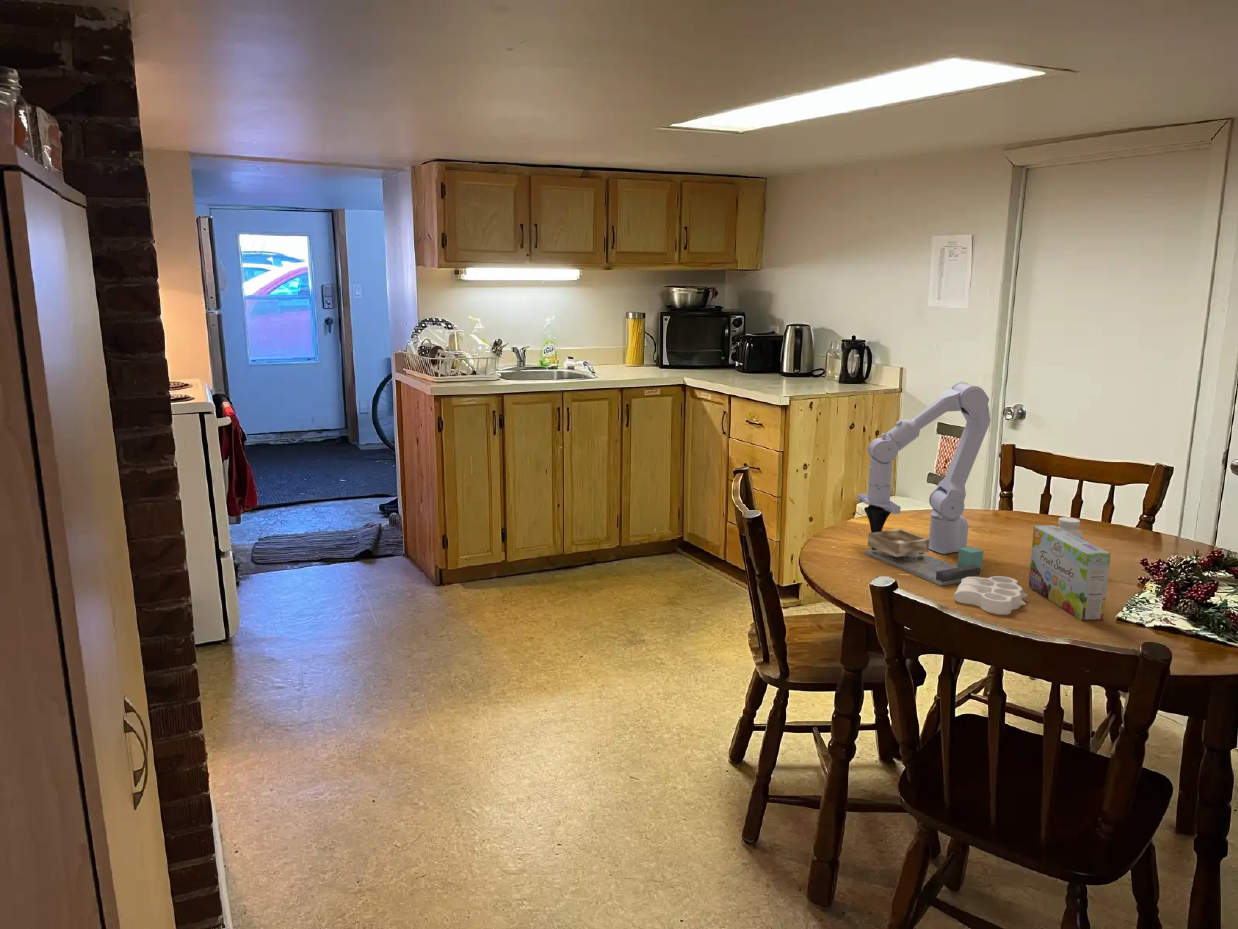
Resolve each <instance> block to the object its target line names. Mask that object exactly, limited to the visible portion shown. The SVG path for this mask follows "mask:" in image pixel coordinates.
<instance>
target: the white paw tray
mask: <svg viewBox="0 0 1238 929" xmlns="http://www.w3.org/2000/svg"><path fill="white" fill-rule="evenodd" d="M1029 596H1030V595H1029V594H1027V593H1026V592H1024V589H1023V588H1022V585H1021V586H1020V585H1019V581H1018V580H1017V579H1014V578H1012V577H1008V576H1001V575H1000V576H999V575H997V576H996V575H994V576H990V577H981V576H980V577H966V578H963V579H961V583H959V584H958V586H957V588H956V591H955V592H954V594H953V600H955V601H956V602H958V603H960V604H967V605H974V606H977V607H979V606H980V609H983V610H982V611H984V610H985V612H986V611H987V613H991V614H993V613H994V615H1002V616H1003V615H1010V614H1011V613H1012V611H1013V609H1014V610H1017V609H1018V610H1019V608H1021V606H1025V605H1027V603H1026V602H1025V601H1024V600H1023V599H1025V598H1027V597H1029Z"/></svg>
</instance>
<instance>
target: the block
mask: <svg viewBox="0 0 1238 929" xmlns="http://www.w3.org/2000/svg"><path fill="white" fill-rule="evenodd" d="M957 554H958V555H957V565H956V566H957V567H965V566H971V565H976V566H979V567H981V571H982V569H983V559H984V558H983V557H984V550H982V549H980V548H976V547H973V546H967V547H964V548H959V552H957Z"/></svg>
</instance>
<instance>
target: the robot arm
mask: <svg viewBox="0 0 1238 929" xmlns="http://www.w3.org/2000/svg"><path fill="white" fill-rule="evenodd" d="M989 402H990V398H989V397H988V395H987V393H986V392H985V390H984V389H983V388H982V387H980V386H976V385H972V384H969V383H967V382H964V381H960V382H957V383H955V384H953V385H952V387H951V388H948V389H945V391H943V393H942V394H940V395H939V396H938V397H937V398H936V399H935V400H933V401H932V402H931V403H930V404H929V405H927V406H926V407H925V408H924V409H922V410H921V411H920V412H919V413H917V415H916V416H914V417H913V418H911V419H907V418H904V419H903V420H900V419H898V420H897V421H896V422H895V424H896V425H895V426H893V427H892V428H890V430H888V431H887V432H886V433H885V432H883V433H882V434H881V435H880V437H876V438H874V439H872V441H871V442H870V443H869V446H868V447H867V452H868V455H869V456H870V459H869V460H870V461H869V469H868V480H867V482H868V484H867V494H865V493H859V494H857V497H856V499H857V500H856V502H858V503H864V504H865V505H868V506H865V507H863V508H864V512H865V514H866V516H867V519H868V522H869V523H868V524H869V527H870V533H874V532H881V531H883V529H884V526H885V523H886V521H887V519H888V517H889V516H890V515H891V514H892V515H898V514H901V508H902V507H901V505H899V504H897V503H894V501H892V500H891V489H892V478H893V476H892V475H893V461H894V460H895V459H896V457H897V454H898V452H900V451H902V449H904V448H905V447H906V446H908V445H909V444H911V443H912V442H914V440H916V439H918V437H919V436H920V431H921V430H922V429H924V428H925V427H926V426H927V425H929V424H930V423H932V422H933V421H935V420H937V419H938V418H939V417H940V416H942V415H944V414H945V413H947V412H961V414H962V416H963V418H964V419H965V421H966V423H965V426H964V428H963V431H962V434H961V436H960V439H959V440H958V443H957V446H956V447H955V448H956V449H955V451H954V454H953V456H952V458H951V461H950V463H949V466H948V469H947V471H946V474H945V477H944V478H943V479H941V480H940V481H939V482H938V485H937V486H936V488H935V489H934V490H933V491H932V492H931V493H930V494H929V498H928V502H929V505H930V507H931V508H932V510H931V513H930V523H929V534H928V535H929V536H928V539H930V540H929V551H930V550H931V551H933V552H936V553H938V554H941V555H947V554H952V553H959V548H964V547H968V546H967V544H968V535H969V523H968V520H967V519H966V517H965V516H963V513H964V510H965V499H966V496H967V492H966V483H967V482H968V479H969V476H970V473H971V472H972V468H973V467H974V463H975V461H976V458H977V457H978V454H979V451H980V448H981V446H982V443H983V441H984V439H985V436H986V434H987V431H988V429H989V426H990V425H991V415H990V414H991V412H990V408H989V407H990V406H989Z"/></svg>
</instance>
